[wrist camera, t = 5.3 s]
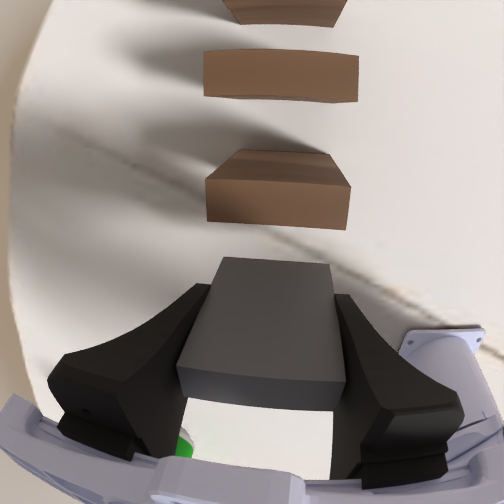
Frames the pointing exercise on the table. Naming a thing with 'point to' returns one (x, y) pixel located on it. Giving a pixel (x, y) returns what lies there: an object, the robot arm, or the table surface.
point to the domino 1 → (287, 11)
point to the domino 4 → (266, 338)
